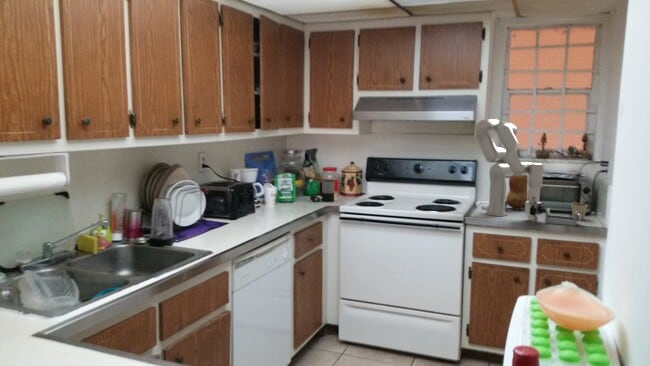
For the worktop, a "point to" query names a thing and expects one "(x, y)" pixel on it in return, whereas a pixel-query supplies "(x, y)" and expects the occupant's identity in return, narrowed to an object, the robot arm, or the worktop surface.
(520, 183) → the butternut squash
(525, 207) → the pneumatic valve
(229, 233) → the worktop surface
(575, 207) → the flower pot
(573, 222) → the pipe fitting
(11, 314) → the worktop surface
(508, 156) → the robot arm
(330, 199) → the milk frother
